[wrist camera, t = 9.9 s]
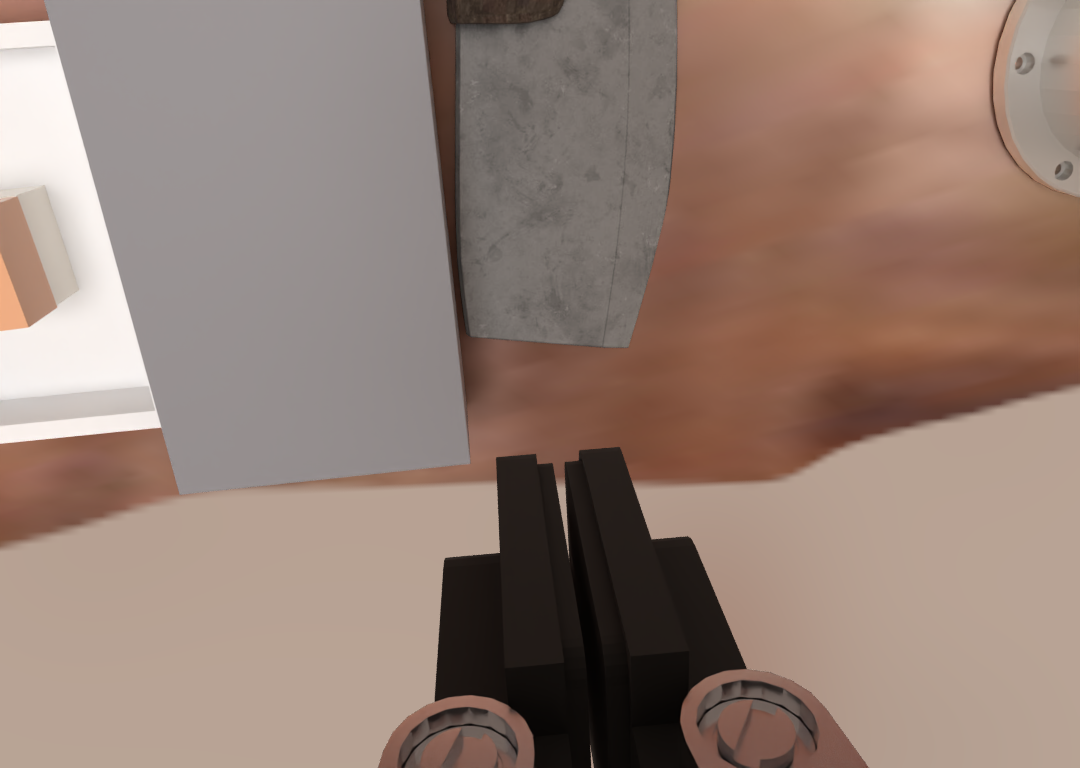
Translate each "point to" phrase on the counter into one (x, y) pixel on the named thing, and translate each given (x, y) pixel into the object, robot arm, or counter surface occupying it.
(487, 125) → the cleaver
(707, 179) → the counter surface
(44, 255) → the cream tile
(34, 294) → the terracotta tile
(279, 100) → the block
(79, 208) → the box
